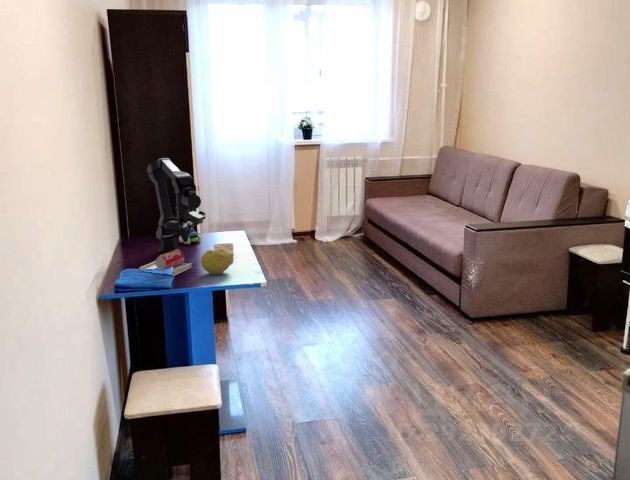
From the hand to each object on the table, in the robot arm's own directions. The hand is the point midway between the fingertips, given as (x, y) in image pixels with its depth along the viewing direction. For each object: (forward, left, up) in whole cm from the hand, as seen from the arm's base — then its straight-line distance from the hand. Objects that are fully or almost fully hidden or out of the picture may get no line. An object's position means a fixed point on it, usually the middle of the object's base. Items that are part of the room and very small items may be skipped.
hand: (185, 241), depth 249 cm
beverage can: (+2, -7, -4) cm, 8 cm away
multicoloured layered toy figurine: (-15, +26, -8) cm, 31 cm away
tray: (0, -15, -8) cm, 16 cm away
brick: (+13, +9, -8) cm, 18 cm away
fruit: (+22, -13, -8) cm, 27 cm away
